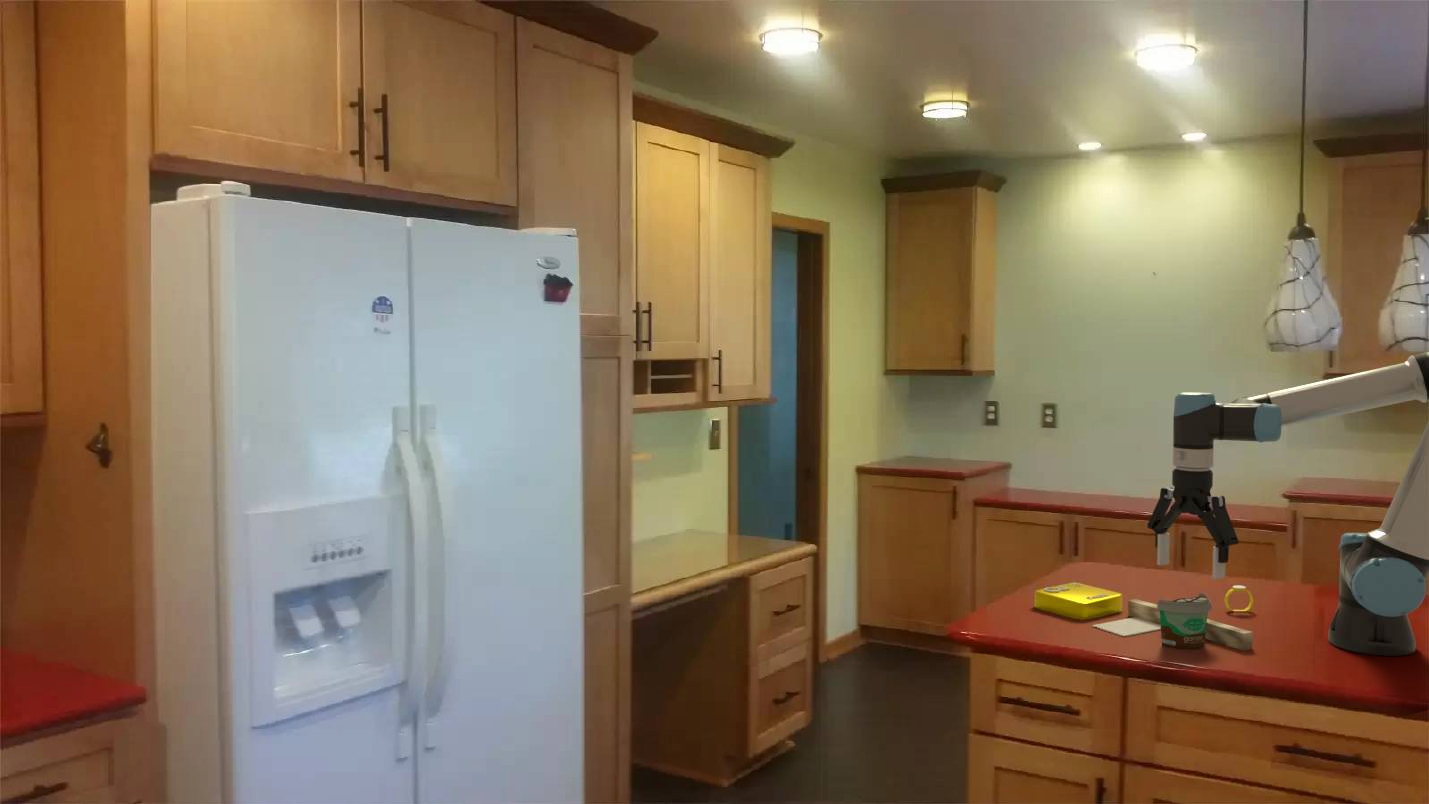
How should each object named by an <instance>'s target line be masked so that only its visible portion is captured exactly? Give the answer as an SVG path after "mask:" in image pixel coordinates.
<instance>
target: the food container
mask: <svg viewBox="0 0 1429 804" xmlns="http://www.w3.org/2000/svg"><path fill="white" fill-rule="evenodd" d="M1157 605H1158V606H1157V609H1159V610H1160V624H1161V630H1160V634H1161V635H1160V636H1161V638H1160V639H1161V647H1163V648H1168V649H1173V650H1181V651H1198V650H1201V649H1203V648H1204V647H1205V644H1206V643H1205V642H1206V640H1205V635H1206V625H1207V619H1208V614H1209V612H1210V611H1211V610H1212V609H1213V608H1212V602H1211V600H1210V598H1209V596H1208V595H1207V594H1204V593H1202V592H1198V596H1195V597H1188V598H1185V597H1180V598H1177V599H1174V600H1164V599H1161V598H1159V599H1158V602H1157Z"/></svg>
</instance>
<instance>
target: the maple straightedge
mask: <svg viewBox="0 0 1429 804" xmlns="http://www.w3.org/2000/svg"><path fill="white" fill-rule="evenodd" d="M1127 606H1128V608H1127V611H1128V612H1127V616H1128V617H1130V618H1133V617H1136V618H1140V619H1143V620H1146V621H1150V622H1153V623H1156V624H1159V625H1161V624H1160V610H1159V609H1157V606H1158V604H1156V603H1152V602H1150V601H1149V602H1148V601H1144V600H1140V599H1138V598H1135V599H1134V598H1133V599H1129V600H1128V601H1127ZM1253 635H1254V632H1253V631H1251V630H1248V629H1244V628H1241V627H1236V626H1233V625H1231V624H1230V625H1229V624H1226V623H1222V622H1220V621H1216V620H1212V619H1209V618H1207V625H1206V635H1205V641H1209V642H1211V643H1215V644H1218V645H1221V646H1224V647H1225V646H1228V647H1231V648H1234V649H1237V650H1241V651H1243V652H1244V651H1248V650H1252V649H1253V645H1254V644H1253V640H1254V639H1253V638H1254V637H1253Z"/></svg>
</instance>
